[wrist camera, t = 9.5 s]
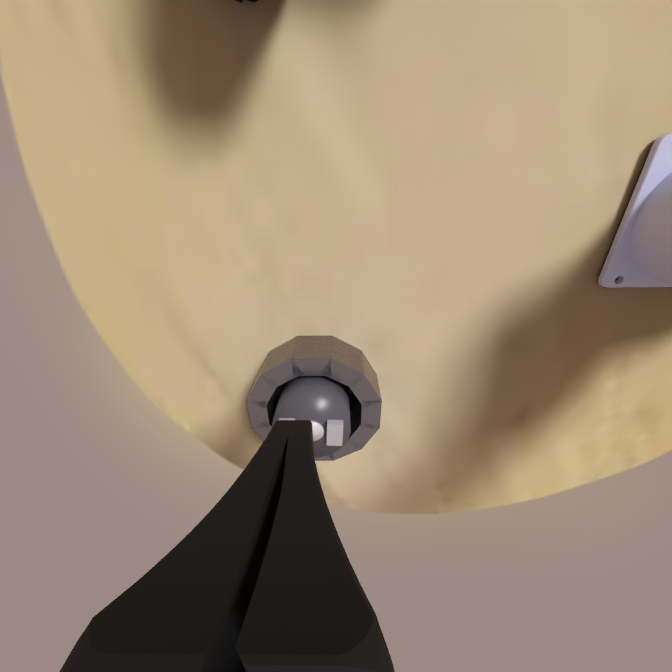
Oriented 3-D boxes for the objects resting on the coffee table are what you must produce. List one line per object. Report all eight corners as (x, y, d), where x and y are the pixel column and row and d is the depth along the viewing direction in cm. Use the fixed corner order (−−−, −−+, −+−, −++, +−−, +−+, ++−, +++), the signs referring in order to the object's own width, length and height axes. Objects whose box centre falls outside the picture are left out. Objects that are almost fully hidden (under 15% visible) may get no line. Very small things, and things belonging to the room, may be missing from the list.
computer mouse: (350, 363, 21) (353, 404, 17) (347, 417, 23) (348, 463, 19) (281, 361, 21) (267, 401, 17) (284, 414, 23) (273, 461, 19)
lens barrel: (378, 335, 20) (384, 357, 18) (373, 430, 25) (377, 460, 22) (251, 336, 21) (238, 358, 18) (266, 431, 25) (257, 460, 22)
